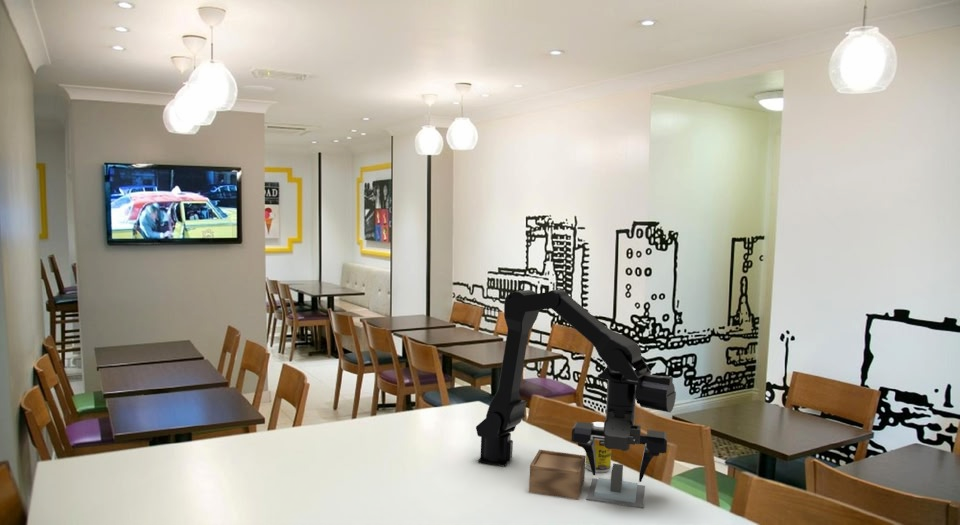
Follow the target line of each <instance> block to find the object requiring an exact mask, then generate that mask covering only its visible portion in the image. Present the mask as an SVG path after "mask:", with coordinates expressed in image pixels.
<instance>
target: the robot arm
mask: <svg viewBox="0 0 960 525" xmlns="http://www.w3.org/2000/svg"><path fill="white" fill-rule="evenodd" d="M503 308H504V309H503V317H504V321H505V324H506V328H507V330H506V331H507V332H506V333H507V334H506V337H505V338H506V340H505V344H504V352H503V357H502V363H501V369H500V376H499V381H498V382H499V383H498V386H497V387H498V389H497V391H496V392H495V395H494V396H493V398H492V399H491V401H490V403H489V405H488V408H487V411H486V416H485V418H484V419H483V420H482V421H480V423H479V424H477V425H476V427H475V430H476V434H477V436H478V437H480V438H481V439H480V457H479V459H478V460H477V462H478V463H481V464H487V465H495V466H499V467H500V466H503V467H506V466H507V465H508V464H509V462H510V461H511V460H512V458H513V452H514V451H513V447H514V446H513V445H514V441H513V439H512V438H511V436H512V433H514V431H515V429H516V428H517V425H519V424H520V423H521V422H522V419H524V418H526V415H525V411H526V410H525V409H526V406H527V403H528V402H527V400H523V399H522V397H521V395H520V388H521V384H522V378H523V377H522V376H523V370H524V364H525V358H526V351H527V346H528V342H529V341H528V340H529V336H530V335H529V334H530V331H531V329H532V327H533V326H534V324H535V323H536V320H537V319H538V317H539V313H540V311H541V310H542V311H543V310H549V309H551V310H552V311H554V312H555V313H556V314H557V315H558V316H559V317H561V318H562V319H563V320H564V321H565V322H566V323H567V324H569V325H570V327H573V329H575V330H576V331H577V332H578V333H579V334H581V336H583V337H584V338H585V339H586V340H587V341H588V342H590V343H591V345H592V346H593V347H594V349H595V350H596V352H597V354H598V356H599V357H600V359H601V360H602V361H603V362H604V363H605V365H606V367H605V368H604V370H603V371H601V372H600V373H599V374H598V375H597V378H598V379H601V380H607V384H606V385H607V389H606V408H605V421H604V430H602V429H594V423H593V422H584V421H577V422H575V423H574V425H573V427H572V429H571V430H572V431H571V442H574V443H577V446H578V447H582V448H583V450H584V452H585V455H586V454H587V456H588V459H589V463H590V466H591V470H592V471H591V473H592V476H596V473H597V472H596V453H595V438H597V439H604V446H605V447H606V448H607V449H611V450H612V449H614V450H621V451H622V452H628V451H630V449H631V448H630V447H631V445H633V446H634V445H644V449H643V452H642V459H641V463H640V469H639V475H638V483H641V482H643V478H644V476H645V473H646V470H647V468H648V466H649V464H650V462H651V461H652V459H653V458H654V457H659V456H660V454H667V446H668V435H667V433H666V432H665V431H663V430H661V431H660V430H653V429H652V430H651V429H647V432H646V434H642V433H641V429H642V428H641V427H642V426H641V425H637V424H635V418H636V403H637V404H638V405H639V406H640V408H644V409H650V410H653V411H660V412H664V413H665V412H666V413H671V412H672V411H673V409H674V408H675V404H676V396H677V392H676V388H675V384H674V382H673V381H674V380H673V379H674V378H673V377H672V376H669V375H655V374H652V371H651V370H650V368H649V366H648V365H647V362H645V360H644V358H643V357H642V350H641V347H640V345H639V344H638V343H637V342H636V341H634V340H632V339H631V338H629V337H627V336H625V335H624V334H621V333H618V332H617V331H614V330H611V329H610V328H608V327H607V326H606V325H604V324H603V323H602V322H601V321H600V320H598V318H596V317H595V316H594V315H593V314H591V312H589V311H587V310H586V309H585V308H584V307H583V306H582V305H581V304H579V303H578V302H577V301H576V300H575V299H574V298H572V297H571V296H570V295H569V294H568V293H567V291H565V290H564V289H561V288H559V289H553V290H549V291H546V292H541V293H540V292H539V293H537V292H535V291H533V290H531V289H525V290H516V291H512V292H510V293H509V294H508V295H506V296H505V298H504V303H503Z"/></svg>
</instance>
